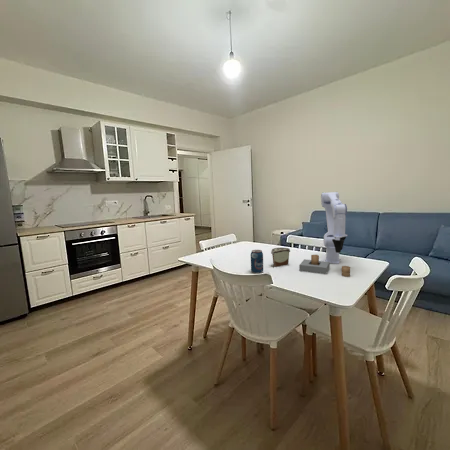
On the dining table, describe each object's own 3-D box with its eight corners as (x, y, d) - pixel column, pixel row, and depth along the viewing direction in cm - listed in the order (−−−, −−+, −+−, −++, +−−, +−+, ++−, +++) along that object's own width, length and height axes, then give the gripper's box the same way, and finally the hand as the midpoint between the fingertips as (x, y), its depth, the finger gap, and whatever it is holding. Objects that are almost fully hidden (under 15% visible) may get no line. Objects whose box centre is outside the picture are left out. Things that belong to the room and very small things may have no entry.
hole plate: (304, 265, 147) (304, 259, 146) (329, 267, 139) (329, 261, 139) (299, 270, 136) (299, 264, 136) (326, 274, 129) (326, 267, 129)
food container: (284, 262, 154) (284, 246, 153) (290, 264, 149) (290, 248, 147) (267, 264, 150) (267, 248, 149) (272, 267, 144) (272, 251, 143)
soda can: (256, 274, 134) (256, 253, 132) (248, 271, 139) (247, 250, 137) (266, 271, 138) (265, 250, 136) (257, 268, 143) (256, 248, 142)
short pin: (341, 273, 129) (341, 265, 129) (350, 274, 127) (350, 266, 127) (341, 276, 126) (341, 267, 125) (349, 277, 124) (350, 268, 123)
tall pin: (311, 268, 140) (311, 254, 139) (319, 268, 139) (319, 255, 137) (310, 270, 137) (310, 256, 136) (318, 270, 135) (318, 256, 134)
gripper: (346, 228, 125) (345, 254, 127) (348, 225, 137) (348, 248, 139) (331, 228, 129) (331, 253, 130) (335, 224, 141) (334, 248, 143)
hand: (339, 251), depth 135 cm, fingers open, 7 cm apart
